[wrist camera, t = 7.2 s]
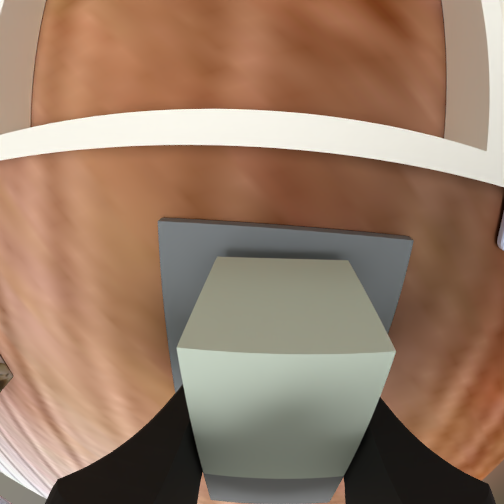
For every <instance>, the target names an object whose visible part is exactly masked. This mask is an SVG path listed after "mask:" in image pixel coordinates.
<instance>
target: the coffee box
mask: <svg viewBox="0 0 504 504" xmlns="http://www.w3.org/2000/svg"><path fill="white" fill-rule="evenodd" d="M12 378H13V375H12V373H11V372H10V370H9V369H8V367H7V366H6V364H5V363H4V361H3V359H2V358H1V356H0V392H1V391H2V389H3V388H4V387H5V386H6V384H7V383H8V382H9V381H10V380H11V379H12Z"/></svg>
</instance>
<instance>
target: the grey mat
mask: <svg viewBox="0 0 504 504" xmlns="http://www.w3.org/2000/svg"><path fill="white" fill-rule="evenodd" d="M158 235H159V253H160V267H161V280H162V292H163V302H164V312H165V321H166V330H167V338H168V346H169V353H170V360H171V367H172V374H173V381H174V387H175V393H176V392H177V391H178V389H179V388H180V387H181V386H182V384H183V382H182V376H181V371H180V365H179V360H178V354H177V348H176V347H177V345H178V343H179V340H180V338H181V336H182V334H183V331H184V329H185V327H186V324H187V322H188V320H189V318H190V315H191V313H192V311H193V309H194V306H195V304H196V302H197V300H198V297H199V295H200V293H201V291H202V289H203V286H204V284H205V282H206V280H207V277H208V275H209V273H210V271H211V269H212V267H213V264H214V262H215V260H216V258H217V257H246V258H281V259H319V260H348V261H349V263H350V264H351V266H352V268H353V270H354V271H355V273H356V275H357V277H358V279H359V281H360V282H361V284H362V286H363V288H364V290H365V292H366V293H367V295H368V297H369V299H370V301H371V303H372V305H373V307H374V309H375V310H376V312H377V314H378V316H379V318H380V320H381V322H382V324H383V326H384V328H385V330H386V332H387V334H388V332H389V329H390V326H391V323H392V320H393V317H394V314H395V310H396V307H397V304H398V300H399V297H400V293H401V290H402V286H403V282H404V278H405V275H406V271H407V267H408V263H409V258H410V254H411V250H412V245H413V241H414V240H413V239H411V238H410V237H409V236H401V235H391V234H381V233H371V232H360V231H349V230H338V229H327V228H315V227H302V226H289V225H276V224H262V223H248V222H232V221H216V220H199V219H180V218H161V219H160V220H159V221H158Z"/></svg>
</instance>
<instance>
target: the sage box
mask: <svg viewBox="0 0 504 504" xmlns="http://www.w3.org/2000/svg"><path fill="white" fill-rule="evenodd" d="M176 348H177V354H178V360H179V365H180V371H181V376H182V382H183V387H184V392H185V397H186V402H187V406H188V411H189V416H190V420H191V425H192V429H193V434H194V438H195V442H196V446H197V450H198V454H199V458H200V462H201V466H202V470H203V474H204V477H205V481H206V484H207V488H208V491H209V495H210V498H211V500H217V501H227V502H238V503H254V504H311V503H327V502H329V501H330V500H331V498H332V496H333V495H334V493H335V491H336V489H337V487H338V486H339V484H340V482H341V480H342V478H343V476H344V475H345V473H346V471H347V469H348V467H349V465H350V463H351V461H352V459H353V457H354V455H355V453H356V451H357V449H358V447H359V444H360V442H361V440H362V438H363V436H364V434H365V431H366V429H367V427H368V425H369V422H370V420H371V418H372V415H373V413H374V410H375V408H376V405H377V403H378V400H379V398H380V395H381V393H382V390H383V387H384V385H385V382H386V379H387V376H388V374H389V371H390V368H391V365H392V362H393V359H394V356H395V353H396V350H395V348H394V346H393V344H392V342H391V340H390V338H389V336H388V334H387V332H386V330H385V328H384V326H383V324H382V322H381V320H380V318H379V316H378V314H377V312H376V310H375V309H374V307H373V305H372V303H371V301H370V299H369V297H368V295H367V293H366V292H365V290H364V288H363V286H362V284H361V282H360V281H359V279H358V277H357V275H356V273H355V271H354V270H353V268H352V266H351V264H350V263H349V261H348V260H319V259H281V258H246V257H217V258H216V260H215V262H214V264H213V267H212V269H211V271H210V273H209V275H208V277H207V280H206V282H205V284H204V286H203V289H202V291H201V293H200V295H199V297H198V300H197V302H196V304H195V306H194V309H193V311H192V313H191V315H190V318H189V320H188V322H187V324H186V327H185V329H184V331H183V334H182V336H181V338H180V340H179V343H178V345H177V347H176Z"/></svg>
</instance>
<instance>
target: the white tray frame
mask: <svg viewBox="0 0 504 504" xmlns="http://www.w3.org/2000/svg"><path fill="white" fill-rule="evenodd" d="M441 1H442V8H443V17H444V28H445V42H446V68H447V91H446V118H445V133H444V139H443V138H440V137H436V136H432V135H428V134H424V133H419V132H415V131H411V130H406V129H401V128H396V127H392V126H386V125H381V124H376V123H370V122H364V121H358V120H352V119H345V118H338V117H330V116H322V115H313V114H303V113H293V112H280V111H265V110H243V109H179V110H157V111H142V112H130V113H120V114H110V115H102V116H94V117H87V118H80V119H73V120H67V121H61V122H56V123H50V124H45V125H40V126H35V127H31V99H32V84H33V73H34V64H35V56H36V49H37V43H38V37H39V31H40V26H41V21H42V16H43V11H44V7H45V3H46V0H0V160H5V159H11V158H17V157H24V156H31V155H38V154H45V153H53V152H62V151H71V150H82V149H93V148H106V147H123V146H145V145H229V146H252V147H269V148H283V149H295V150H306V151H316V152H325V153H334V154H342V155H350V156H357V157H364V158H371V159H377V160H384V161H390V162H396V163H401V164H407V165H412V166H417V167H422V168H427V169H432V170H437V171H442V172H446V173H451V174H455V175H459V176H463V177H467V178H471V179H475V180H479V181H483V182H487V183H491V184H494V185H498V186H501V187H504V0H441Z"/></svg>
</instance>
